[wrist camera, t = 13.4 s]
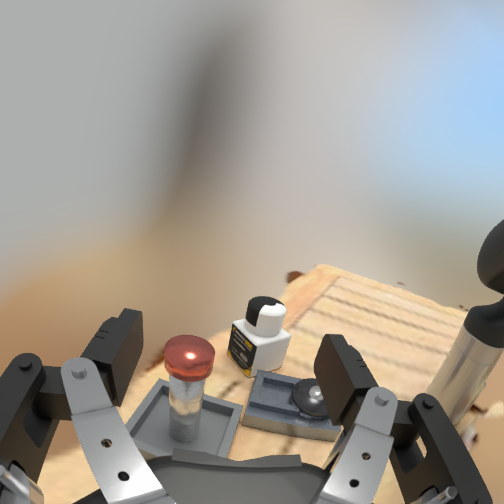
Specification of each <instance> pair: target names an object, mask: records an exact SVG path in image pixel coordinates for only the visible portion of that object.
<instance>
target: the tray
mask: <svg viewBox="0 0 504 504" xmlns="http://www.w3.org/2000/svg"><path fill="white" fill-rule="evenodd" d="M242 408H243V405H239V404H236V403H232V402H228V401H225V400H221V399H218V398H215V397H211V396H208V395H205V394H204V395H203V402H202V410H201V418H200V426H199V434H198V437H197V439H196V440H195V441H193V442H191V443H180V442H178V441H176V440H174V439H173V438H172V437H171V435H170V432H169V382H168V381H165V380H163V379H160V378H159V379H158V381H157V382H156V383H155V385H154V386H153V388H152V389H151V390H150V392H149V393H148V394H147V396H146V397H145V398H144V400H143V401H142V403H141V404H140V405H139V407H138V408H137V409H136V411H135V412H134V413H133V415H132V416H131V418H130V419H129V420H128V422H127V423H126V424H125V427H126V429H127V430H128V432H129V434H130V436H131V438H132V440H133V441H134V443H135V445H136V447H137V448H138V450H139V452H140V453H141V455H142V457H143V458H144V459H145V460H148V459H151V458H155V457H159V456H167V455H172V454H173V448H179V449H185V450H192V451H200V452H207V453H210V454H213V455H216V456H220V457H223V458H227V456H228V453H229V450H230V447H231V444H232V441H233V438H234V435H235V431H236V428H237V425H238V422H239V419H240V416H241V412H242Z"/></svg>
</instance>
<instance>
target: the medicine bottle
mask: <svg viewBox="0 0 504 504" xmlns="http://www.w3.org/2000/svg"><path fill="white" fill-rule="evenodd" d="M285 314H286V307H285V306H284V304H283V303H282V302H280V301H278V300H276V299H274V298H271V297H265V296H259V297H254V298H252V299H251V300H250V301H249V303H248V308H247V312H246V317H245V319H243V320H237V321H234V322H233V324H232V330H231V335H230V341H229V346H228V351H227V354H228V355H229V356H230V357H231V359H232V360H233V361H234V362H235V363H236V364H237V365H238V367H239V368H240V369H241V370H242V371H243V372H244V373H245V374H246V375H247V377H253V376H256V373H257V370H258V369H259V370H264V371H268V372H269V371H272V370H274V369H277V368H280V367H281V366H282V363H283V360H284V357H285V354H286V351H287V348H288V345H289V341H290V338H291V335H290V334H289V333H287V332H286V331H285V330H284V329H283V328H282V325H283V321H284V318H285Z"/></svg>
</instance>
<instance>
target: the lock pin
mask: <svg viewBox="0 0 504 504" xmlns="http://www.w3.org/2000/svg"><path fill="white" fill-rule="evenodd" d="M214 356H215V350H214V348H213V346H212V345H211V344H210V343H209V342H208V341H207V340H205V339H203V338H200V337H197V336H193V335H179V336H175V337H173V338H171V339H170V340H168V342H167V343H166V345H165V368H166V370H167V372H168V373H169V432H170V435H171V437H172V438H173V439H174V440H176V441H178V442H180V443H191V442H193V441H195V440H196V439H197V437H198V434H199V426H200V418H201V410H202V402H203V395H204V387H205V380H206V378H207V377H208V376H209V375H210V374H211V372H212V368H213V362H214Z"/></svg>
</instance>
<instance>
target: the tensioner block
mask: <svg viewBox="0 0 504 504" xmlns="http://www.w3.org/2000/svg"><path fill="white" fill-rule="evenodd" d="M242 425H244V426H248V427H252V428H256V429H261V430H265V431H270V432H275V433H280V434H285V435H291V436H297V437H303V438H310V439H317V440H326V441H334V440H335V439H336V438H337V436H338V435H339V433H340V432H341V426H333V425H332V422H331V419H330V416H329V413H328V411H327V408H326V405H325V402H324V399H323V396H322V393H321V390H320V387H319V385H318V382H317V379H314V378H308V379H300V378H295V377H290V376H285V375H281V374H276V373H272V372H268V371H264V370H259V369H258V370H257V373H256V377H255V380H254V384H253V387H252V391H251V394H250V398H249V401H248V405H247V408H246V412H245V415H244V418H243V422H242Z"/></svg>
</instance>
